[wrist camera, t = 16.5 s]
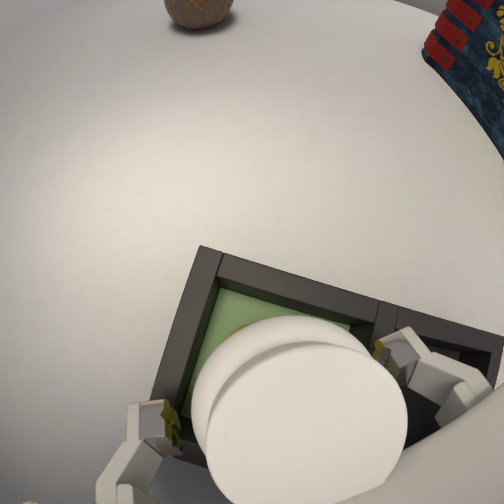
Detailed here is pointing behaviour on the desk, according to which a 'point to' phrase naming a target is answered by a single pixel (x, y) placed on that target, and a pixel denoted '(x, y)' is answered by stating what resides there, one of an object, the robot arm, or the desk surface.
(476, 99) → the book
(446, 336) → the holder
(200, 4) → the vase
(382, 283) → the desk surface
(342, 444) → the pill bottle
